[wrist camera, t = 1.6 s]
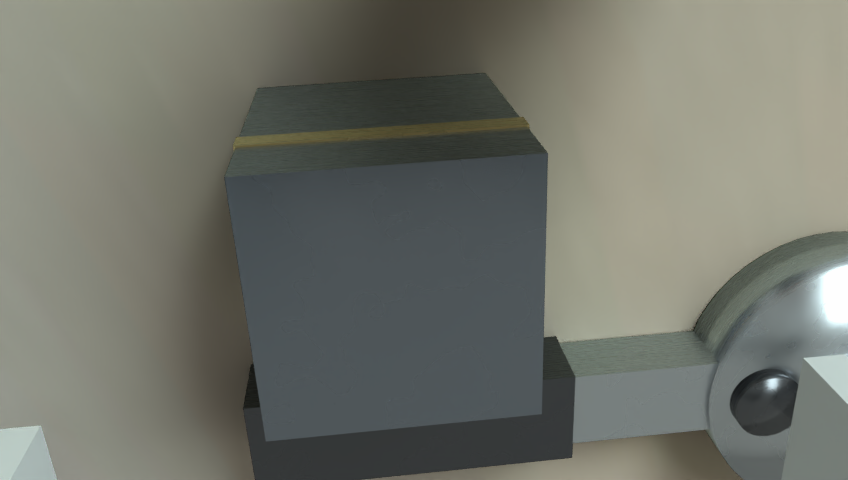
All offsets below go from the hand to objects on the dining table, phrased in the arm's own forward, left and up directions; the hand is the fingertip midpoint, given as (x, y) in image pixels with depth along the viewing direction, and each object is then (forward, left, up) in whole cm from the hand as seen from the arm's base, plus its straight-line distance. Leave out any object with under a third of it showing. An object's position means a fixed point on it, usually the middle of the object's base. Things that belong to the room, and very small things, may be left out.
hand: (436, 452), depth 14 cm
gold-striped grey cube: (0, 0, -13) cm, 13 cm away
